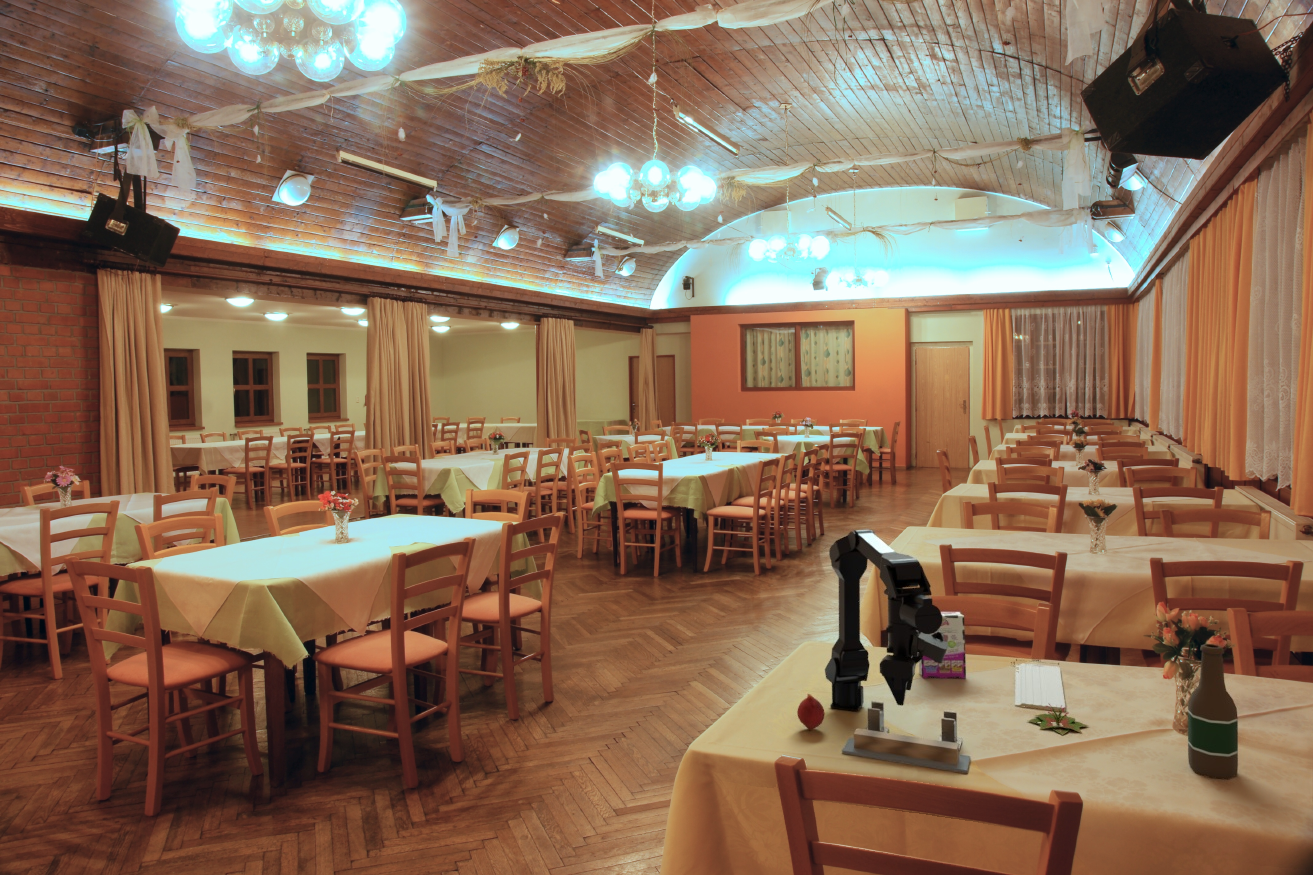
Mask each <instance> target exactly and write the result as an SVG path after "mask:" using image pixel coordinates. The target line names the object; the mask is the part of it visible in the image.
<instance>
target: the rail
mask: <svg viewBox="0 0 1313 875" xmlns="http://www.w3.org/2000/svg"><path fill="white" fill-rule="evenodd" d="M853 738H854V748H857V749H863V750H870V751H876V752H882V753H889V754H895V755H901V756H908V757H914V758H920V759H926V760H933V761H939V762H945V763H952V764H957V763H958V759H959V754H960V751H959V743H953V742H946V741H940V740H939V739H932V738H927V737H926V738H925V737H919V736H910V735H905V734H899V733H897V734H896V733H891V732H888V733H885V732H879V731H872V730H866V728H856V729H855V731H854V733H853Z"/></svg>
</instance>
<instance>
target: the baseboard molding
mask: <svg viewBox="0 0 1313 875" xmlns="http://www.w3.org/2000/svg"><path fill="white" fill-rule="evenodd" d="M1015 661H1016V662H1018V658H1016V659H1015ZM1015 661H1012V662H1010V664H1014V665H1015V680H1014V681H1015V683H1014V684H1015V686H1014V688H1015V689H1014V690H1015V692H1014V707H1018V706H1025V707H1024V708H1027V707H1031V708H1030V709H1036V708H1038V709H1037V710H1046V711H1050V710H1051V709H1054V710H1055V712H1058V711H1059V710H1060V711H1061V710H1062V709H1063V708H1064V707H1065V709H1064V711H1063V710H1062V711H1063V713H1065V712H1066V711H1067V710H1066V703H1065V702H1066V701H1065V696H1064V688H1063V681H1062V674H1061V668H1060V666H1059V665H1060V663H1059V662H1058V663H1057V665H1058V666H1055V664H1056V663H1053V662H1051V664H1053V665H1054V666H1053V665H1040V664H1032V663H1029V664H1028V663H1024V660H1023V659H1022V660H1021V659H1020V661H1022V662H1023V663H1020V664H1016V663H1015ZM1030 662H1033V663H1035V662H1039V663H1045V662H1042V661H1041V660H1040V659H1032V660H1030ZM1014 665H1013V666H1014ZM1016 667H1019V670H1017V669H1016ZM1016 671H1019V673H1018V672H1016ZM1048 703H1049V704H1050V705H1051V706H1052V707H1051V706H1050V705H1049V704H1048ZM1046 705H1047V706H1049V707H1050V708H1051V709H1050V708H1049V707H1046ZM1056 705H1057V707H1056ZM1061 706H1062V707H1061ZM1051 711H1052V710H1051Z"/></svg>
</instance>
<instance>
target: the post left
mask: <svg viewBox="0 0 1313 875" xmlns="http://www.w3.org/2000/svg"><path fill="white" fill-rule="evenodd" d="M884 705H885V704H884V701H883V702H882V701H876V700H875V701H873V700H871V707H867V727H866V728H865V730H872V731H879V732H885V733H889V731H890V727H888V726H885V710H884V709H885V706H884Z"/></svg>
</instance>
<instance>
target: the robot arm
mask: <svg viewBox="0 0 1313 875" xmlns="http://www.w3.org/2000/svg"><path fill="white" fill-rule="evenodd" d="M828 552H829V553H828V554H829V559H830V562H831V563H830V564H831V568H832V569H833V571H834V572H835V574H836V575H837V579H838V637H837V638H838V639H837V640H836V642H835V643H834V644H833V646H832V648H831V655H830V656H831V658H830V660H829V661H828V662H827V665H826V666H825V668H824V674H825V679H826V680H827V681H829V682H830V683H831V703H830V705H829V706H830V707H829V708H831V709H838V710H845V711H851V712H852V711H853V712H858V711H859V710H860V708H861V707H862V706H863V704H864V699H865V698H864V686H863V685H862V683H861V682H863V681H864V682H867V681H868V676H869V670H870V661H869V651H868V650H867V649H866V648H865V647H864V645H863V643H862V641H861V588H860V587H861V579H862V577H863V576H864V574H865V573H866V570H867V569H868V560H869V562H871V563H872V564H873V565H874V566H875V567H877V568H878V570H879V578H880V580H881V581H882V582H883V585H884V586H885V588H886V589H884V591H883V593H884V595H886V596H887V621H888V622H887V626H886V630H885V632H886V633H887V635H888V636H887V637H888V645H887V647H886V653H888V654H887V655H885V656H884V657H883V658H882V659H881V661H880V663H879V674H881V676H882V677H883V679H884V680H885V682H886V685H888V688H889V690H890V692H891V694H892V697H893V699H894V700H895V702H896V705H898V706H901V707H902V706H904V703H905V698H906V692H907V691H911V689H912V686H913V679H914V677H915V675H916V666H917V664H919V661H920V660H921V659H922V658H923V656H925V657H928V658H930V659H932V660H934V662H937V663H942V661H943V659H944V656H945V654H946V651H947V648H948V646H949V644H948V643H947V641H946V642H945V640H944V634H943V633H942V632H939V631H937V630H938V629H939V628H940V626H941V624H942V619H943V618H942V614H941V612H942V611H941V610H940V609H939V607H938V606H936V605H935V604H933V598H932V597H930V596H932V591H931V587H932V586H931V583H930V582H929V580H928V577H927V576H926V573H925V571H924V568H923V565H922V564H921V563H920V561H919V560H918V559H917V558H916V557H913V556H912V555H911V556H910V555H909V554H905V553H899V552H896V551H895V550H894V549H893V548H891V547H890V546H889V545H888V544H886V543H885V542H884V541H883V540H881V538H879V537H878V536H877V535H876V533H875V531H874V530H873V529H872V530H871V529H868V528H867V529H866V528H865V529H853V530H852V531H850V532H848V534H847V535H845V536H843V537H841V538H839V539H837V540H835V541H834V542H833V543H832V545H831V546H830V547H829V550H828ZM932 633H933V634H932ZM930 634H932V635H931V636H930Z"/></svg>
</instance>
